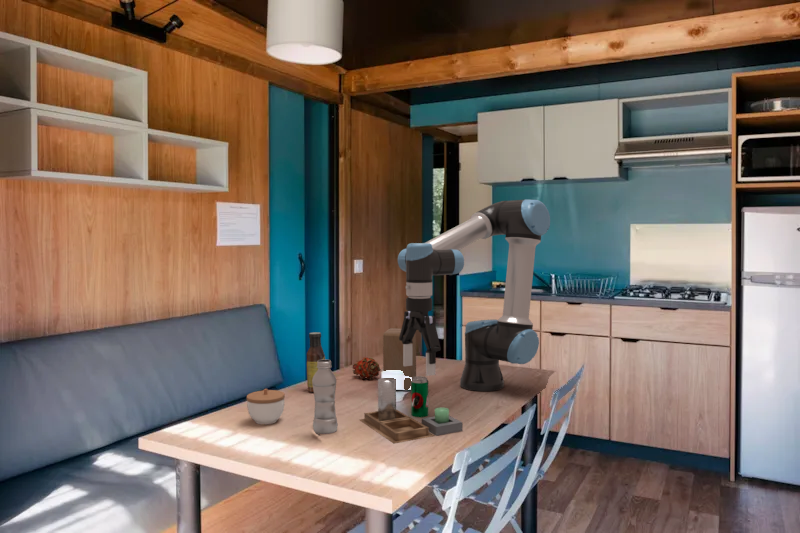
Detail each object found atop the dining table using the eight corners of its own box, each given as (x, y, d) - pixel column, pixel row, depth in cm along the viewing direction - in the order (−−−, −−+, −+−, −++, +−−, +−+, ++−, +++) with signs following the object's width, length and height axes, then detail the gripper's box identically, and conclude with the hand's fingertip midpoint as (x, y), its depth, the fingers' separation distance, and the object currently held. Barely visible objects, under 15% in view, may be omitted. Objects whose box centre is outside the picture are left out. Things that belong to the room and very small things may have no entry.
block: (411, 391, 207) (411, 333, 206) (382, 390, 209) (382, 332, 208) (416, 384, 217) (416, 328, 216) (389, 383, 219) (388, 327, 218)
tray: (396, 417, 179) (396, 406, 179) (434, 440, 160) (434, 428, 159) (358, 423, 174) (358, 412, 173) (393, 448, 154) (393, 435, 154)
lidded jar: (292, 417, 180) (291, 386, 179) (272, 428, 170) (272, 395, 169) (260, 414, 184) (259, 383, 183) (239, 425, 173) (238, 392, 173)
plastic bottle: (327, 440, 160) (326, 364, 159) (307, 435, 164) (306, 361, 163) (342, 433, 166) (341, 359, 165) (323, 429, 169) (322, 357, 168)
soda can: (430, 420, 176) (430, 379, 175) (413, 421, 175) (413, 380, 174) (426, 415, 181) (425, 375, 180) (409, 416, 180) (409, 376, 179)
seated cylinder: (391, 418, 174) (390, 376, 174) (399, 423, 170) (399, 380, 169) (375, 421, 172) (374, 378, 171) (383, 426, 168) (382, 382, 167)
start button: (444, 418, 168) (444, 406, 167) (451, 422, 164) (451, 410, 164) (432, 420, 166) (432, 408, 166) (439, 424, 162) (439, 412, 162)
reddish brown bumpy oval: (379, 385, 223) (354, 385, 230) (389, 368, 228) (364, 368, 235) (368, 369, 219) (343, 369, 226) (378, 352, 224) (353, 353, 231)
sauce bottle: (327, 392, 208) (327, 334, 207) (309, 394, 206) (308, 335, 204) (323, 387, 214) (322, 331, 213) (305, 389, 212) (304, 332, 211)
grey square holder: (446, 426, 171) (446, 414, 170) (462, 435, 163) (462, 422, 163) (421, 431, 167) (421, 418, 167) (436, 440, 160) (436, 426, 160)
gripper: (388, 293, 185) (388, 363, 186) (429, 301, 163) (429, 380, 164) (410, 292, 189) (410, 361, 190) (453, 300, 167) (453, 377, 168)
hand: (418, 370), depth 177 cm, fingers open, 13 cm apart
